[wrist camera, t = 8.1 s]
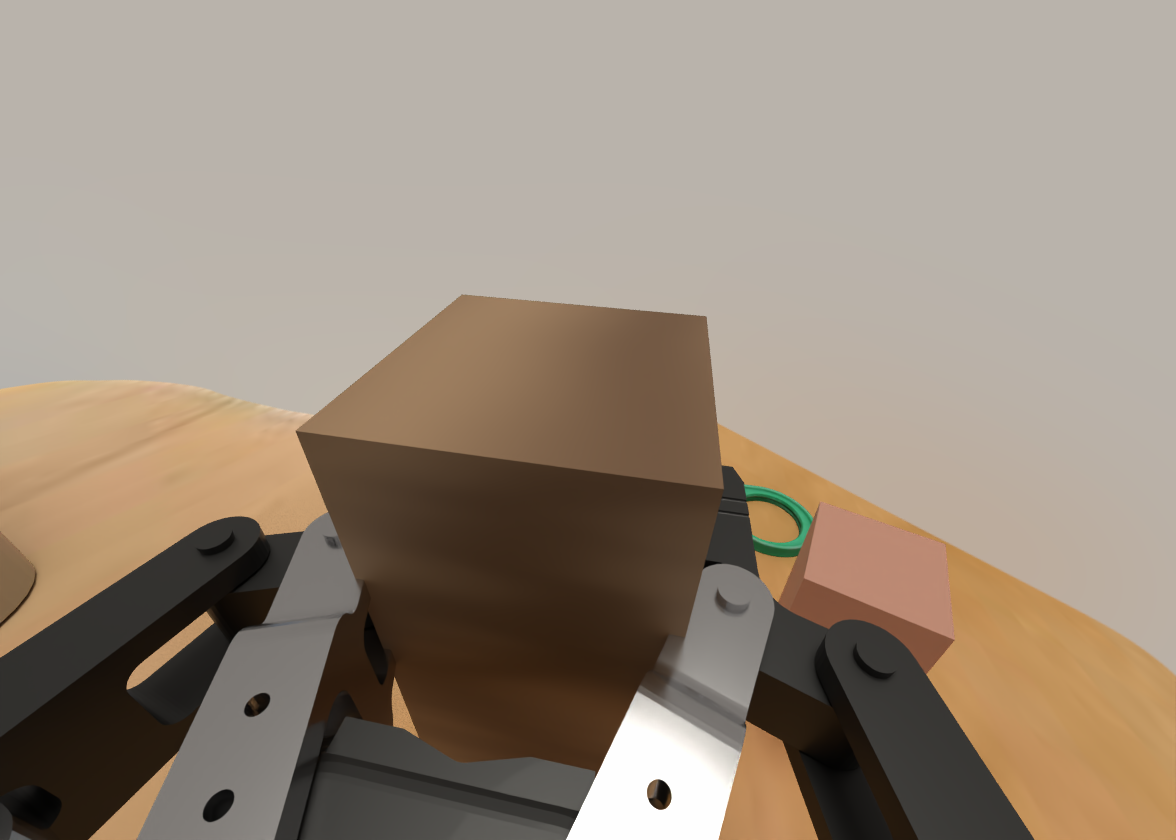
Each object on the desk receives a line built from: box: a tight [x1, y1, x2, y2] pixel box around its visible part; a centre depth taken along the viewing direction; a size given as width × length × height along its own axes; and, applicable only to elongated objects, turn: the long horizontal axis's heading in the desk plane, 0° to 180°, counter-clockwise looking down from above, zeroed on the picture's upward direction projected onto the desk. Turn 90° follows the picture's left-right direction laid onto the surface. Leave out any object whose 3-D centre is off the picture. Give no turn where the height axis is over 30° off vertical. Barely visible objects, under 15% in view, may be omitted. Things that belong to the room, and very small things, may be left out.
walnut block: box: [296, 295, 724, 779], centre depth 10 cm, size 5×5×10 cm
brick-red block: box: [778, 502, 955, 674], centre depth 22 cm, size 5×5×10 cm
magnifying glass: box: [744, 485, 813, 557], centre depth 36 cm, size 15×6×2 cm, turn 56°
